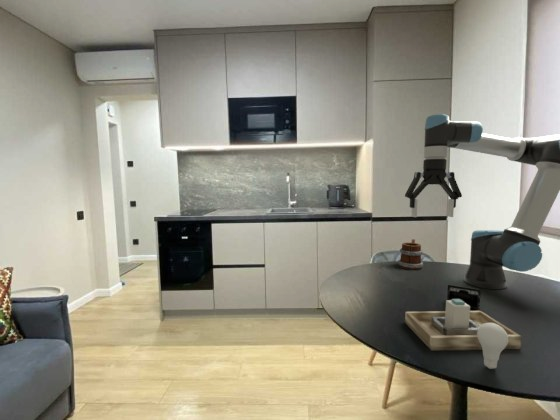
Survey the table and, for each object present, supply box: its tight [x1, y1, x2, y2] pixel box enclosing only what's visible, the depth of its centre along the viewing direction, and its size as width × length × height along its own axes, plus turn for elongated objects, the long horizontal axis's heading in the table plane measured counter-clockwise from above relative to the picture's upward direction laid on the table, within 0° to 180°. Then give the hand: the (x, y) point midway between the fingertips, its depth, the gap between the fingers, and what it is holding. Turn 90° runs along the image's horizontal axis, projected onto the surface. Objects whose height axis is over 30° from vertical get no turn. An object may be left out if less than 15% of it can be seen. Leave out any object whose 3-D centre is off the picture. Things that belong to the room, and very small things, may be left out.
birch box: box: [404, 310, 522, 351], centre depth 90 cm, size 24×16×4 cm, turn 92°
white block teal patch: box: [445, 299, 470, 328], centre depth 91 cm, size 4×4×9 cm
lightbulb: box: [477, 323, 508, 370], centre depth 74 cm, size 6×6×11 cm
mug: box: [397, 239, 424, 271], centre depth 160 cm, size 12×14×15 cm
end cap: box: [446, 284, 482, 311], centre depth 110 cm, size 10×7×7 cm
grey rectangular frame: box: [431, 317, 480, 336], centre depth 91 cm, size 11×8×2 cm
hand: (432, 216), depth 116 cm, fingers open, 13 cm apart
